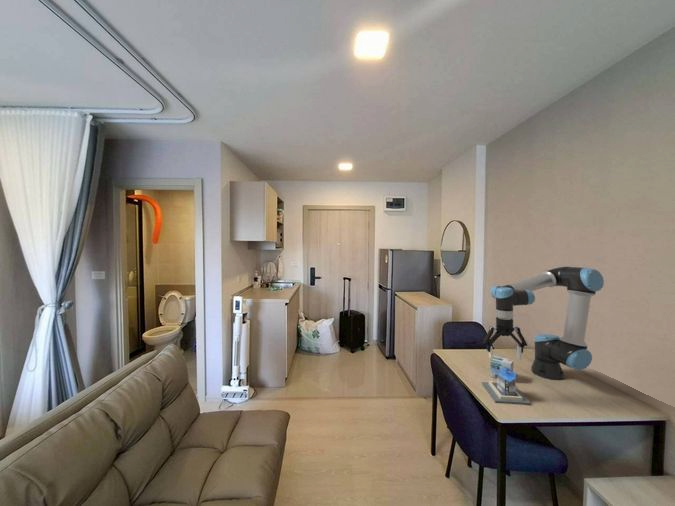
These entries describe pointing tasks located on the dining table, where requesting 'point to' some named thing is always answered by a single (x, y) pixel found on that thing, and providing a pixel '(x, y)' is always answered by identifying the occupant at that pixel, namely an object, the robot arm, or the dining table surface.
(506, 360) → the light bulb box
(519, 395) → the grey platform
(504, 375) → the label tape cartridge
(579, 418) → the dining table surface
